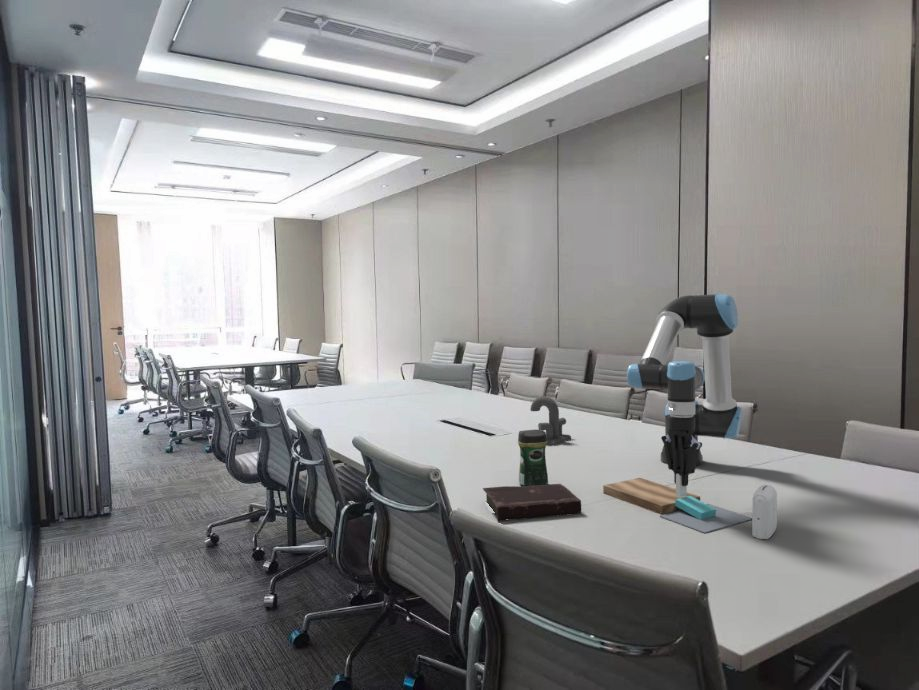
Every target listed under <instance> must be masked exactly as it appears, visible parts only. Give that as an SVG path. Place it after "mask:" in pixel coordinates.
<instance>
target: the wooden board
mask: <svg viewBox="0 0 919 690" xmlns="http://www.w3.org/2000/svg"><path fill="white" fill-rule="evenodd" d="M602 488H603V489H602V491H603V492H602V493H603V494H605V495H608V496H610V497H613V498H616V499H619V500H622V501H624V502H628V503H629V504H632V505H635V506H637V507H641V508H643V509H646V510H648V509H649V510H648V511H651V512H654V513H656V512H657V514H660V515H665V514H668V513H669V512H670V513H672V512H673V511H674V512H676V511H677V510H678V511H680V510H681V509H680V508H678V507H676V506H675V502H676V499H679V498H683V497H677V496H676V487H675V488H674V487H670V486H668V485H665V484H661V483H658V482H656V481H655V482H654V481H651V480H648V479H645V478H642V477H637V478H632V479H627V480H623V481H618V482H613V483H608V484H604V485H603V487H602ZM688 496H692V497H694V498H696V499H698V500H699V501H701V495H697V494H693V493H691V492H687V496H684V497H688Z"/></svg>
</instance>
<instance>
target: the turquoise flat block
mask: <svg viewBox="0 0 919 690" xmlns="http://www.w3.org/2000/svg"><path fill="white" fill-rule="evenodd" d="M707 504H708V503H705V502H703V501H701V500H700V501H699V500H698V499H696V498H694V497H692V496H688V497H683V498H679V499H676V502H675V506H676V507H678V508H680V509H682V510H684V511H685V512H687V513H689V514H691V515H693V516H694V517H696V518H698V519H700V520H702V519H706V518H710V517H713V516H715V515H716V509H715V508H713V507H711V506H709V505H707Z"/></svg>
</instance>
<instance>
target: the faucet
mask: <svg viewBox="0 0 919 690" xmlns="http://www.w3.org/2000/svg"><path fill="white" fill-rule="evenodd" d="M542 407H545V408H547V410H548V422H538V424H537V427H538V430H540V429H541V430H543V431H545V433H546V438H547V445H546V446H551V445H555V446H556V444H557V445H559V444H562V443H564V442H566V441H565V440H567V441H568V439H569V440H571V439H572V436H571V435H570V434H566V433H563V426H564V425H566V424H567V419H566V418H565V417H560V410H559V407H558V404H557V402H556V401H555V400H554V399H553V398H551V397H549V396H547V395H545V396H538V397H536V398H534V400H533V401H532V403H531V405H530V408H529V409H530V411H531V412H540V411H541V408H542ZM570 438H571V439H570ZM563 441H564V442H563ZM561 442H562V443H561ZM558 443H559V444H558Z"/></svg>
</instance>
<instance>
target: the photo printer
mask: <svg viewBox="0 0 919 690" xmlns="http://www.w3.org/2000/svg"><path fill="white" fill-rule="evenodd" d="M777 497H778V494H777V490H776V488H775V487H774V486H772V485H770V484H768V485H767V484H762V485H760V486H758V488H756V490H755V492H754V493H753V496H752V520H751V521H752V528H751V529H752V533H751V534H752V537H754V538H755V537H756V538H755V539H758V538H759V539H758V540H762V539H766V540H768V539H770V538H771V536H772V535H774V533H775V532H776V530H777V519H778V516H777V515H778V513H777V512H778V509H777V507H778V506H777V505H778V504H777V503H778V498H777Z"/></svg>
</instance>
